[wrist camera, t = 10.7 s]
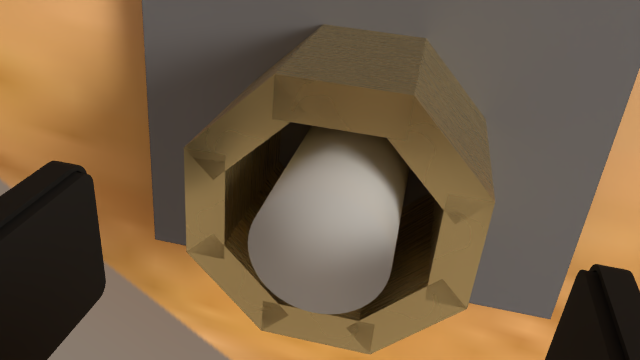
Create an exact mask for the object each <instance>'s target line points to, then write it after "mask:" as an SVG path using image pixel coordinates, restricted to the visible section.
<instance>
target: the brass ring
mask: <svg viewBox="0 0 640 360" xmlns="http://www.w3.org/2000/svg"><path fill="white" fill-rule="evenodd" d="M290 122H294V123H300V124H306V125H312V126H318V127H324V128H330V129H336V130H342V131H348V132H355V133H361V134H367V135H373V136H379V137H385V138H387V139H388V140H389V141H390V143H391V144H392V145H393V147H394V148H395V149H396V150H397V152H398V153H399V154H400V155H401V157H402V158H403V159H404V160H405V162H406V163H407V164H408V166H409V167H410V168H411V169H412V171H413V172H414V173H415V174H416V176H417V177H418V178H419V179H420V181H421V182H422V183H423V185H424V186H425V187H426V188H427V190H428V191H429V193H427V194H426V195H424V196H422V197H420V198H419V199H417V200H415V201H414V202H412V203H410V204H409V205H407V206H405V207H403V208H402V213H401V218H400V224H399V230H398V235H397V241H396V247H395V252H394V258H393V264H392V269H391V273H390V277H389V280H388V282H387V284H386V286H385V287H384V289H383V290H382V292H381V293H380V294H379V295H378V296H377V297H376V298H375V299H374V300H373V301H371V302H370V303H369V304H367V305H365V306H364V307H361V308H359V309H357V310H354V311H351V312H347V313H341V314H319V313H313V312H309V311H305V310H302V309H299V308H297V307H294V306H292V305H290V304H288V303H286V302H285V301H283V300H282V299H280V298H279V297H277V296H276V295H275V294H274V293H272V292H271V291H270V290H269V289H268V288H267V287H266V286H265V285H264V283H263V282H262V281H261V280H260V278H259V277H258V275H257V274H256V272H255V270H254V268H253V266H252V263H251V260H250V257H249V251H248V235H249V231H250V227H251V225H252V222H253V220H254V218H255V217H256V215H257V213H258V212H259V210H260V209H261V207H262V205H263V204H264V202H265V200H266V199H267V197H268V196H269V194H270V192H271V191H272V189H273V187H274V186H275V184H276V183H277V181H278V179H279V178H280V176H281V175H282V173H283V171H284V170H285V167H284V166H283V165H282V164H281V163H280V162H279V160H280V143H281V129H282V128H283V127H285V126H286V125H287V124H289V123H290ZM184 174H185V212H186V249H187V253H188V254H189V255H190V256H191V257H192V258H193V259H194V260H195V261H196V262H197V263H198V264H199V265H200V266H201V267H202V268H203V269H204V271H205V272H206V273H207V274H208V275H209V276H210V277H211V278H212V279H213V280H214V281H215V282H216V283H217V284H218V285H219V286H220V287H221V288H222V289H223V291H224V292H225V293H226V294H227V295H228V296H229V297H230V298H231V299H232V300H233V301H234V302H235V303H236V304H237V305H238V306H239V307H240V308H241V310H242V311H243V312H244V313H245V314H246V315H247V316H248V317H249V318H250V319H251V320H252V321H253V322H254V323H255V324H256V325H257V326H258V327H259V329H260V330H262V331H266V332H271V333H275V334H280V335H284V336H289V337H293V338H298V339H302V340H307V341H311V342H316V343H320V344H325V345H330V346H334V347H339V348H343V349H348V350H352V351H357V352H361V353H366V354H372V353H374V352H376V351H378V350H380V349H382V348H384V347H387V346H389V345H391V344H393V343H395V342H397V341H399V340H402V339H404V338H406V337H408V336H410V335H412V334H414V333H416V332H419V331H421V330H423V329H425V328H427V327H429V326H431V325H434V324H436V323H438V322H440V321H442V320H444V319H446V318H449V317H451V316H453V315H455V314H457V313H459V312H461V311H463V310H466V309H467V307H468V304H469V300H470V296H471V292H472V288H473V285H474V281H475V277H476V273H477V270H478V266H479V262H480V258H481V254H482V251H483V247H484V243H485V239H486V235H487V232H488V228H489V224H490V220H491V217H492V213H493V209H494V205H495V195H494V186H493V178H492V169H491V160H490V152H489V143H488V134H487V125H486V119H485V118H484V116H483V115H482V113H481V112H480V111H479V109H478V108H477V107H476V105H475V104H474V102H473V101H472V100H471V98H470V97H469V96H468V94H467V93H466V92H465V90H464V89H463V87H462V86H461V85H460V83H459V82H458V81H457V79H456V78H455V77H454V75H453V74H452V72H451V71H450V70H449V68H448V67H447V66H446V64H445V63H444V61H443V60H442V59H441V57H440V56H439V55H438V53H437V52H436V51H435V49H434V48H433V46H432V45H431V44H430V42H429V41H428V40H427V38H421V37H414V36H407V35H399V34H392V33H385V32H377V31H370V30H363V29H355V28H348V27H341V26H334V25H326V24H323V25H322V26H321V27H320V28H319V29H317V30H316V31H315V32H314V33H312V34H311V35H310V36H309V37H308V38H306V39H305V40H304V41H303V42H301V43H300V44H299V45H298V46H297V47H295V48H294V49H293V50H292V51H290V52H289V53H288V54H287V55H286V56H284V57H283V58H282V59H281V60H279V61H278V62H277V63H276V64H275V65H273V66H272V67H271V68H270V69H269V70H267V71H266V72H265V73H264V74H262V75H261V76H260V77H259V78H258V79H256V80H255V81H254V82H253V83H251V84H250V85H249V86H248V87H247V88H246V89H245V90H244V91H243V92H242V93H241V94H240V95H239V96H238V97H237V98H236V99H235V100H234V101H232V102H231V103H230V104H229V105H228V106H227V107H226V108H225V109H224V110H223V111H222V112H221V113H220V114H219V115H218V116H217V117H216V118H214V119H213V120H212V121H211V122H210V123H209V124H208V125H207V126H206V127H205V128H204V129H203V130H202V131H201V132H200V133H199V134H198V135H196V136H195V137H194V138H193V139H192V140H191V141H190V142H189V143H188V144H187V145H186V146H185V147H184Z"/></svg>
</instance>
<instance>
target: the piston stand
mask: <svg viewBox="0 0 640 360" xmlns="http://www.w3.org/2000/svg"><path fill="white" fill-rule="evenodd" d="M142 11H143V29H144V47H145V65H146V83H147V100H148V118H149V136H150V154H151V172H152V189H153V207H154V225H155V239H156V240H161V241H166V242H171V243H176V244H181V245H186V212H185V174H184V147H185V146H186V145H187V144H188V143H189V142H190V141H191V140H192V139H193V138H194V137H195V136H196V135H198V134H199V133H200V132H201V131H202V130H203V129H204V128H205V127H206V126H207V125H208V124H209V123H210V122H211V121H212V120H213V119H214V118H216V117H217V116H218V115H219V114H220V113H221V112H222V111H223V110H224V109H225V108H226V107H227V106H228V105H229V104H230V103H231V102H232V101H234V100H235V99H236V98H237V97H238V96H239V95H240V94H241V93H242V92H243V91H244V90H245V89H246V88H247V87H248V86H249V85H250V84H251V83H253V82H254V81H255V80H256V79H258V78H259V77H260V76H261V75H262V74H264V73H265V72H266V71H267V70H269V69H270V68H271V67H272V66H273V65H275V64H276V63H277V62H278V61H279V60H281V59H282V58H283V57H284V56H286V55H287V54H288V53H289V52H290V51H292V50H293V49H294V48H295V47H297V46H298V45H299V44H300V43H301V42H303V41H304V40H305V39H306V38H308V37H309V36H310V35H311V34H312V33H314V32H315V31H316V30H317V29H319V28H320V27H321V26H322V25H323V24H326V25H334V26H341V27H348V28H355V29H363V30H370V31H377V32H385V33H392V34H399V35H407V36H414V37H421V38H427V40H428V41H429V42H430V44H431V45H432V46H433V48H434V49H435V51H436V52H437V53H438V55H439V56H440V57H441V59H442V60H443V61H444V63H445V64H446V66H447V67H448V68H449V70H450V71H451V72H452V74H453V75H454V77H455V78H456V79H457V81H458V82H459V83H460V85H461V86H462V87H463V89H464V90H465V92H466V93H467V94H468V96H469V97H470V98H471V100H472V101H473V102H474V104H475V105H476V107H477V108H478V109H479V111H480V112H481V113H482V115H483V116H484V118H485V119H486V125H487V134H488V143H489V152H490V160H491V169H492V178H493V186H494V195H495V205H494V209H493V213H492V217H491V220H490V224H489V228H488V232H487V235H486V239H485V243H484V247H483V251H482V254H481V258H480V262H479V266H478V270H477V273H476V277H475V281H474V285H473V288H472V292H471V296H470V300H469V303H473V304H477V305H482V306H487V307H492V308H497V309H502V310H507V311H512V312H517V313H522V314H527V315H532V316H537V317H542V318H547V319H551V316H552V313H553V310H554V307H555V305H556V302H557V299H558V296H559V293H560V291H561V288H562V285H563V282H564V279H565V276H566V274H567V271H568V268H569V265H570V262H571V260H572V257H573V254H574V251H575V248H576V246H577V243H578V240H579V237H580V234H581V231H582V229H583V226H584V223H585V220H586V217H587V215H588V212H589V209H590V206H591V203H592V201H593V198H594V195H595V192H596V189H597V186H598V184H599V181H600V178H601V175H602V172H603V170H604V167H605V164H606V161H607V158H608V155H609V153H610V150H611V147H612V144H613V141H614V139H615V136H616V133H617V130H618V127H619V125H620V122H621V119H622V116H623V113H624V110H625V108H626V105H627V102H628V99H629V96H630V94H631V91H632V88H633V85H634V82H635V80H636V77H637V74H638V71H639V68H640V0H142ZM279 162H280V163H281V164H282V165H283V166H284V167H285V170H284V171H283V173H282V175H281V176H280V178H279V179H278V181H277V183H276V184H275V186H274V187H273V189H272V191H271V192H270V194H269V196H268V197H267V199H266V200H265V202H264V204H263V205H262V207H261V209H260V210H259V212H258V213H257V215H256V217H255V218H254V220H253V222H252V225H251V227H250V231H249V235H248V251H249V257H250V260H251V263H252V266H253V268H254V270H255V272H256V274H257V275H258V277H259V278H260V280H261V281H262V282H263V283H264V285H265V286H266V287H267V288H268V289H269V290H270V291H271V292H272V293H274V294H275V295H276V296H277V297H279V298H280V299H282V300H283V301H285V302H286V303H288V304H290V305H292V306H294V307H297V308H299V309H302V310H305V311H309V312H313V313H319V314H341V313H347V312H351V311H354V310H357V309H359V308H361V307H364V306H365V305H367V304H369V303H370V302H371V301H373V300H374V299H375V298H376V297H377V296H378V295H379V294H380V293H381V292H382V290H383V289H384V287H385V286H386V284H387V282H388V280H389V277H390V273H391V269H392V264H393V258H394V252H395V247H396V241H397V235H398V230H399V224H400V218H401V213H402V208H403V207H405V206H407V205H409V204H410V203H412V202H414V201H415V200H417V199H419V198H420V197H422V196H424V195H426V194H427V193H429V191H428V190H427V188H426V187H425V186H424V185H423V183H422V182H421V181H420V179H419V178H418V177H417V176H416V174H415V173H414V172H413V171H412V169H411V168H410V167H409V166H408V164H407V163H406V162H405V160H404V159H403V158H402V157H401V155H400V154H399V153H398V152H397V150H396V149H395V148H394V147H393V145H392V144H391V143H390V141H389V140H388V139H387V138H385V137H379V136H373V135H367V134H361V133H355V132H348V131H342V130H336V129H330V128H324V127H318V126H312V125H306V124H300V123H294V122H290V123H289V124H287V125H286V126H285V127H283V128H282V129H281V143H280V160H279Z"/></svg>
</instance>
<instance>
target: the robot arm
mask: <svg viewBox="0 0 640 360" xmlns="http://www.w3.org/2000/svg"><path fill="white" fill-rule="evenodd" d="M105 283H106V280H105V271H104V263H103V255H102V247H101V239H100V231H99V224H98V216H97V208H96V200H95V192H94V184H93V179H92V177H91V176H90V175H88V174H87V173H86V171H85V169H84V168H83V167H82V166H80V165H75V164H69V163H64V162H59V161H51V162H49V163H47V164H46V165H44V166H43V167H42V168H40V169H39V170H37V171H36V172H34V173H33V174H31V175H30V176H29V177H27V178H26V179H24V180H23V181H21V182H20V183H19V184H17V185H16V186H14V187H13V188H11V189H10V190H9V191H7V192H6V193H4V194H3V195H1V196H0V360H47V359H48V358H49V357H50V356H51V354H52V353H53V352H54V351H55V350H56V349H57V347H58V346H59V345H60V344H61V343H62V341H63V340H64V339H65V338H66V337H67V336H68V335H69V333H70V332H71V331H72V330H73V329H74V328H75V326H76V325H77V324H78V323H79V322H80V321H81V319H82V318H83V317H84V316H85V315H86V314H87V313H88V311H89V310H90V309H91V308H92V307H93V306H94V304H95V303H96V302H97V301H98V300H99V298H100V297H101V296H102V294H103V292H104V288H105ZM545 360H640V291H639V289H638V286H637V284H636V281H635V279H634V276H633V274H632V273H631V271H629V270H624V269H619V268H614V267H609V266H603V265H598V264H595V265H593V266H592V267H591V268H590V270H589V271H586V270H580V271H579V272H578V274H577V276H576V279H575V281H574V284H573V287H572V289H571V292H570V295H569V297H568V300H567V303H566V305H565V308H564V311H563V313H562V316H561V318H560V321H559V324H558V326H557V329H556V332H555V334H554V337H553V340H552V342H551V345H550V348H549V350H548V353H547V356H546V358H545Z"/></svg>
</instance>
